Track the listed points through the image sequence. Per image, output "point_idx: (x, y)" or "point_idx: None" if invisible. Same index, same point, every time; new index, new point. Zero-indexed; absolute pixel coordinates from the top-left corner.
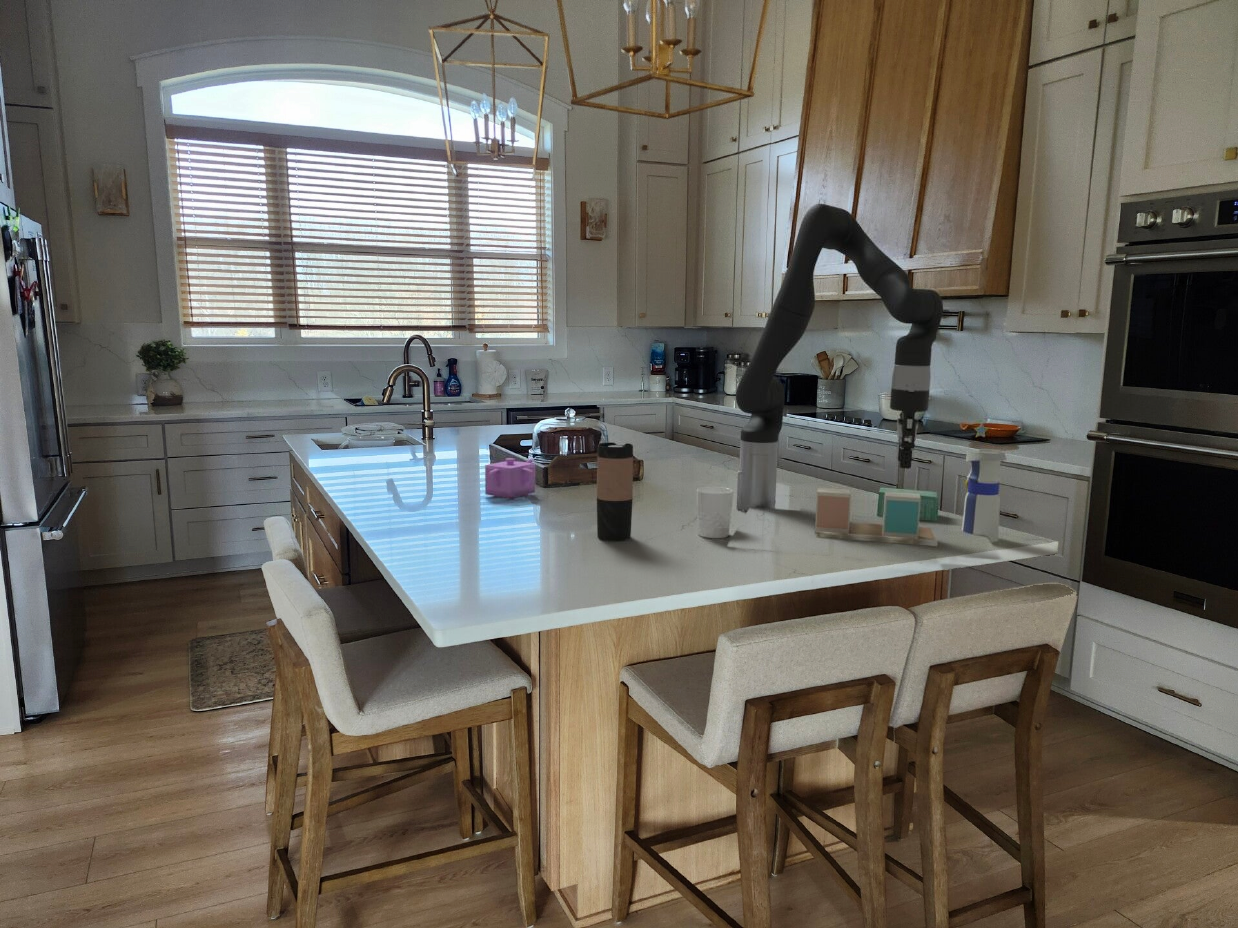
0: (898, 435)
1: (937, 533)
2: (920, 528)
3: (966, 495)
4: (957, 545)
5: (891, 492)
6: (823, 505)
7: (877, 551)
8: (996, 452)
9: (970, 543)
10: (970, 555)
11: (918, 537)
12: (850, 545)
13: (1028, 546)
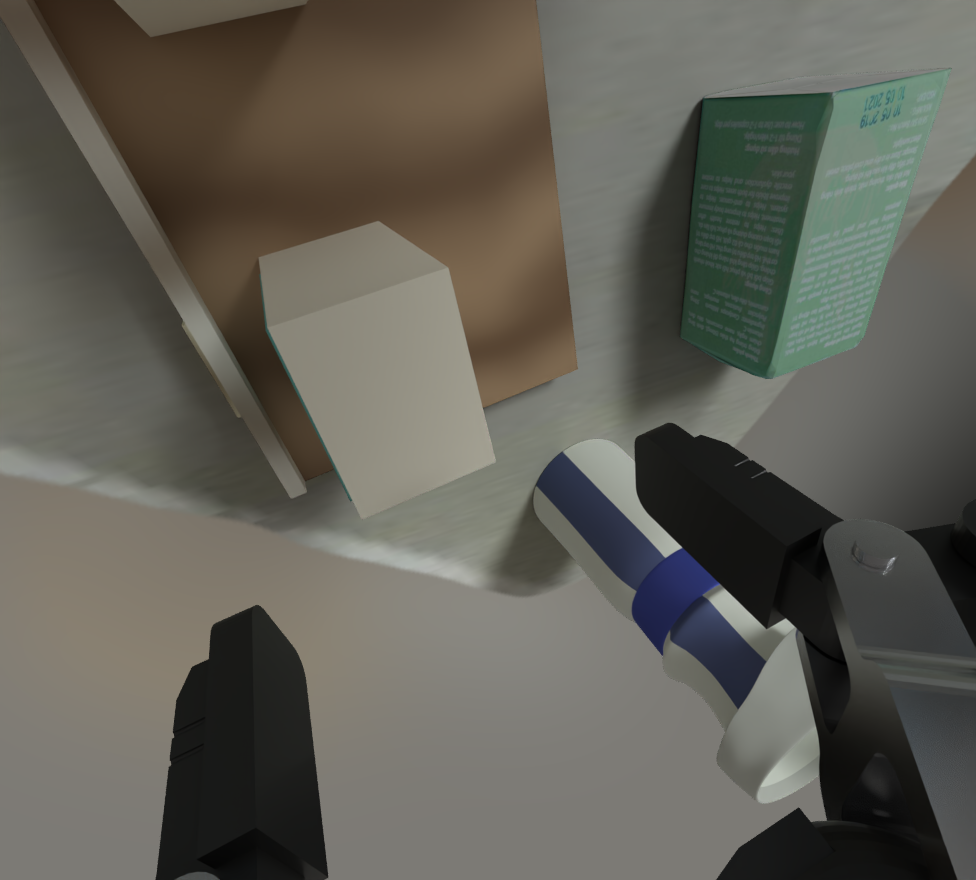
0: (878, 690)
1: (590, 374)
2: (551, 343)
3: (663, 539)
4: None
5: (446, 317)
6: None
7: (89, 268)
8: None
9: (501, 493)
10: (337, 550)
11: None
12: None
13: (541, 591)
